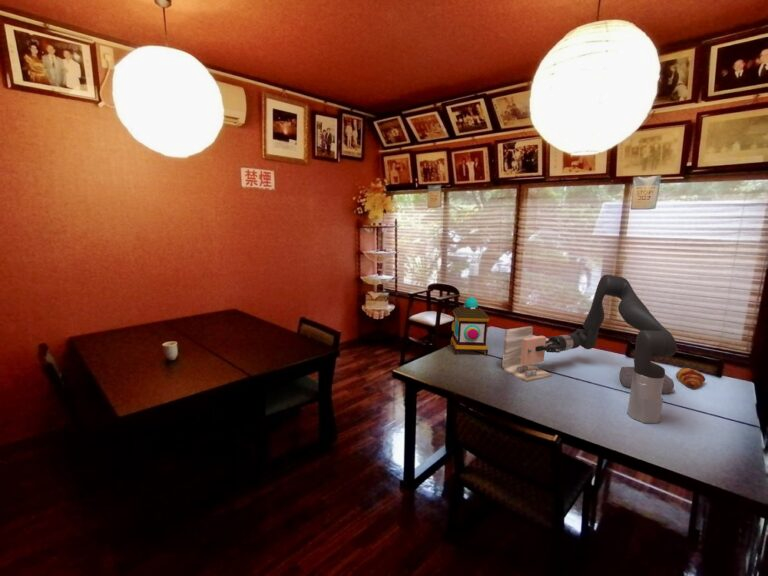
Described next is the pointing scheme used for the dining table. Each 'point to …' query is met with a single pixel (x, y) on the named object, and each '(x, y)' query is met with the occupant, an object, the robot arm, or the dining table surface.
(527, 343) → the door
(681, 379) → the croissant
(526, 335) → the wooden bookend stand
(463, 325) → the decorative lantern
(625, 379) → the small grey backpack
